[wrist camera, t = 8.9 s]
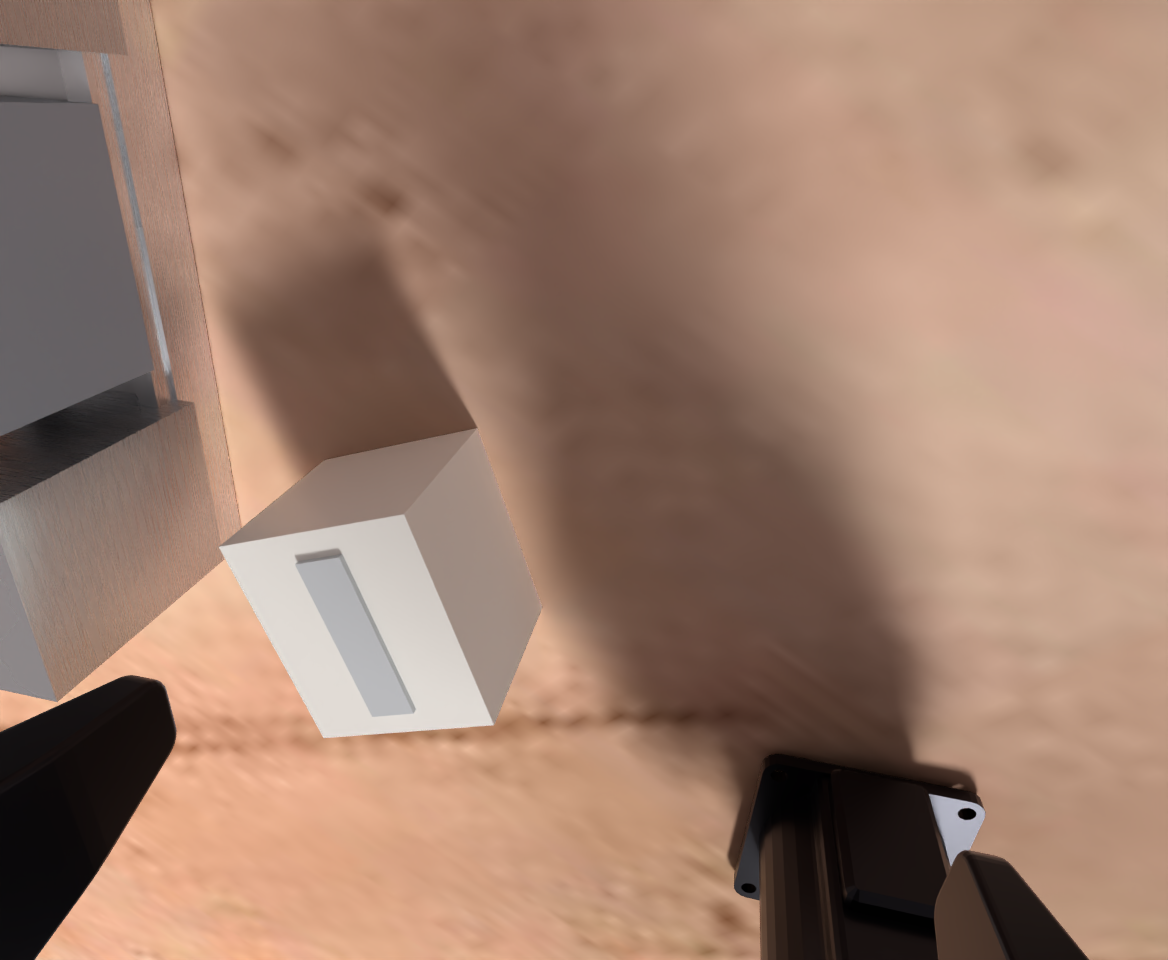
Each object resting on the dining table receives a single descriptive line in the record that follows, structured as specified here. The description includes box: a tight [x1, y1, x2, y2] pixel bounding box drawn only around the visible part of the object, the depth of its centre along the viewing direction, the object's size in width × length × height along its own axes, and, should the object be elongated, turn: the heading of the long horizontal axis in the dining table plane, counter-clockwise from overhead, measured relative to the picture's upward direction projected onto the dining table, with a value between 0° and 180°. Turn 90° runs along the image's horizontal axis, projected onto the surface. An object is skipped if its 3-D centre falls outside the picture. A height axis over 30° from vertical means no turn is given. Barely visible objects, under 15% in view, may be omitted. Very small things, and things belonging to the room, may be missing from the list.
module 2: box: [219, 428, 542, 738], centre depth 20 cm, size 6×5×5 cm
